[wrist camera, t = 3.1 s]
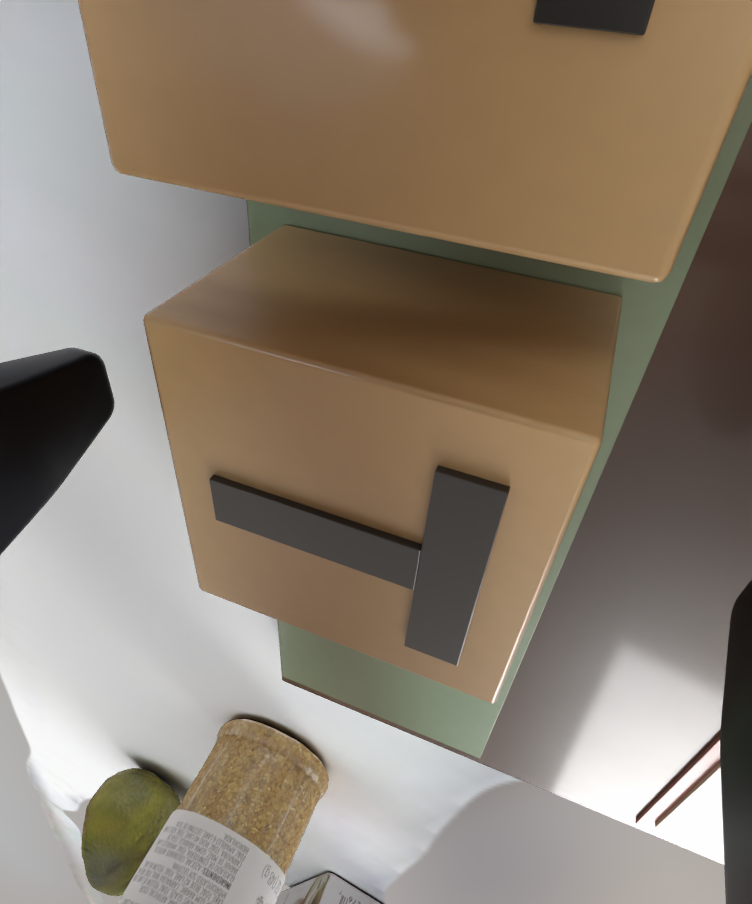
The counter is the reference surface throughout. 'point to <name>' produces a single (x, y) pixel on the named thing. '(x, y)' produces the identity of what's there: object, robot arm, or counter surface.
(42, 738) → the counter surface
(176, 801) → the lime
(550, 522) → the tile
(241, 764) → the sprinkles bottle
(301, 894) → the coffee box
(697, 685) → the letter board
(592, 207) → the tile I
